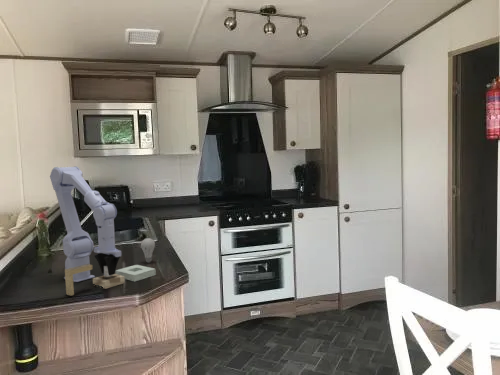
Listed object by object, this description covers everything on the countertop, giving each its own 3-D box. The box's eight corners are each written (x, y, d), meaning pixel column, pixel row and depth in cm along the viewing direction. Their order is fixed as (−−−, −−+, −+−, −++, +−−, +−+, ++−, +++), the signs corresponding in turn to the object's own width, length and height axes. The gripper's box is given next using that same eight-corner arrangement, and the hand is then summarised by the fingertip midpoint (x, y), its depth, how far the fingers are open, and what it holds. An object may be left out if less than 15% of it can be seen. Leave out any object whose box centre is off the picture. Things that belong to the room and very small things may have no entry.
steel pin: (102, 284, 146) (101, 265, 145) (110, 282, 148) (109, 263, 148) (107, 285, 144) (106, 266, 144) (114, 283, 146) (113, 265, 146)
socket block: (93, 285, 145) (92, 278, 145) (112, 279, 152) (111, 273, 152) (105, 288, 141) (105, 281, 140) (124, 282, 147) (124, 276, 147)
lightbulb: (141, 265, 172) (140, 240, 171) (141, 261, 178) (140, 237, 177) (156, 263, 174) (155, 239, 173) (155, 260, 180) (154, 236, 179)
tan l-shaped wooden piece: (66, 294, 135) (64, 269, 134) (89, 287, 141) (87, 263, 141) (70, 295, 133) (69, 270, 132) (93, 288, 140) (92, 264, 139)
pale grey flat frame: (115, 276, 155) (115, 270, 155) (136, 270, 163) (136, 264, 163) (134, 281, 148) (134, 275, 148) (155, 275, 156) (155, 268, 156)
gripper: (85, 237, 146) (87, 273, 147) (108, 241, 137) (110, 279, 138) (102, 234, 152) (104, 268, 153) (125, 237, 143) (127, 274, 144)
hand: (108, 273), depth 146 cm, fingers open, 4 cm apart
